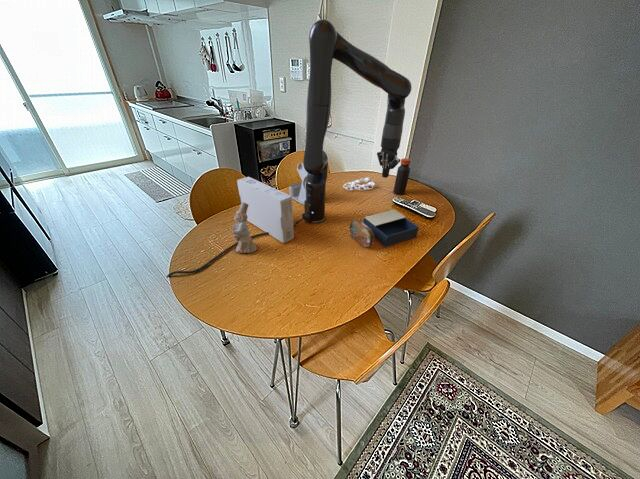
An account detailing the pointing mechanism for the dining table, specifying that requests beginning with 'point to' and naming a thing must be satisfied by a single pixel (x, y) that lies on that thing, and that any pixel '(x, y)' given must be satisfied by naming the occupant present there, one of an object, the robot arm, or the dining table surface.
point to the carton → (393, 231)
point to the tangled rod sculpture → (357, 182)
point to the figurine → (242, 231)
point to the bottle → (402, 177)
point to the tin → (362, 233)
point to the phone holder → (299, 186)
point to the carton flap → (385, 217)
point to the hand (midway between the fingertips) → (384, 176)
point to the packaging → (267, 208)
